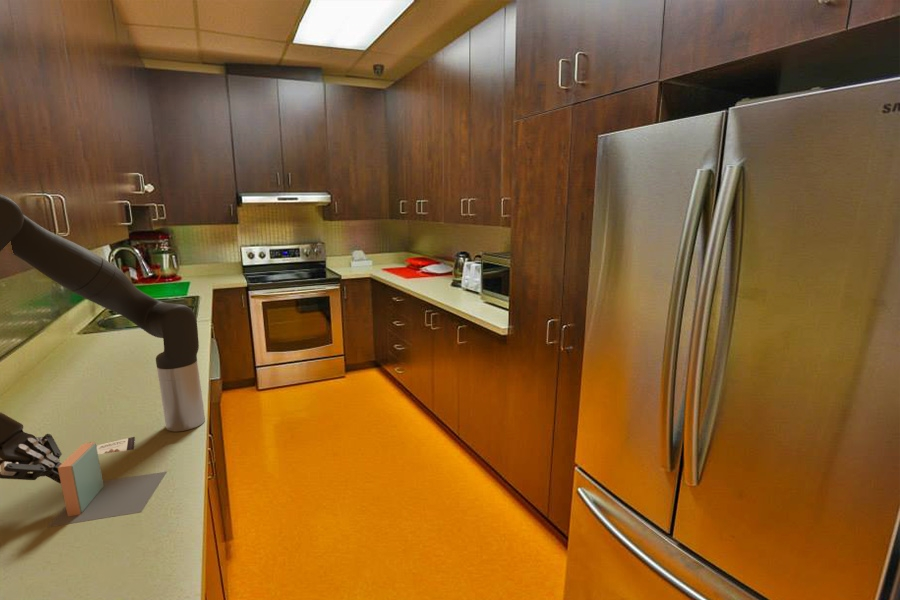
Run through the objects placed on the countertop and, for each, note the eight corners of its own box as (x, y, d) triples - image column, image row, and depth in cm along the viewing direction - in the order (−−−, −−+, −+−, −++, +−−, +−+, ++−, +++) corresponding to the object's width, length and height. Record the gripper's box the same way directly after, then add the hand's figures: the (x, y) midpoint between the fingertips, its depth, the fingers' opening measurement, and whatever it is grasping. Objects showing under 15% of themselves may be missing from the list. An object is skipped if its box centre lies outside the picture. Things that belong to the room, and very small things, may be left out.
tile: (92, 488, 93) (83, 443, 91) (104, 486, 94) (96, 442, 92) (67, 516, 84) (57, 467, 83) (81, 513, 85) (71, 465, 83)
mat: (87, 486, 95) (87, 482, 95) (167, 474, 99) (167, 471, 99) (48, 530, 82) (47, 527, 82) (141, 515, 85) (141, 512, 85)
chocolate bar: (79, 483, 96) (90, 446, 110) (80, 487, 96) (90, 450, 111) (131, 469, 100) (134, 436, 115) (131, 473, 100) (135, 440, 115)
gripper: (-34, 430, 76) (65, 484, 81) (18, 399, 89) (101, 447, 94) (-65, 464, 76) (36, 515, 81) (-9, 428, 89) (76, 474, 94)
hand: (71, 478), depth 88 cm, fingers closed
